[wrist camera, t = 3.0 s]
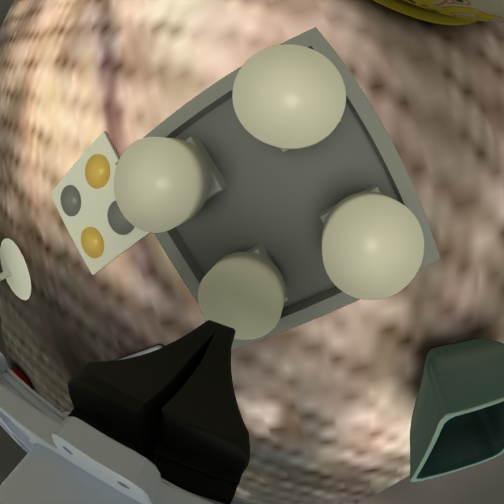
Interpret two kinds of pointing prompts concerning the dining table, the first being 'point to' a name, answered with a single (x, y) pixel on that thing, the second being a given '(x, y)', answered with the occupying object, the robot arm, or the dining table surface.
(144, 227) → the button
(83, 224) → the card
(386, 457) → the dining table surface
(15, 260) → the wineglass
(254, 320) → the button
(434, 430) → the flower pot
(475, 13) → the flowerpot
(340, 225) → the button
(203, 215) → the button board
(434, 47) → the dining table surface
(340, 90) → the button
